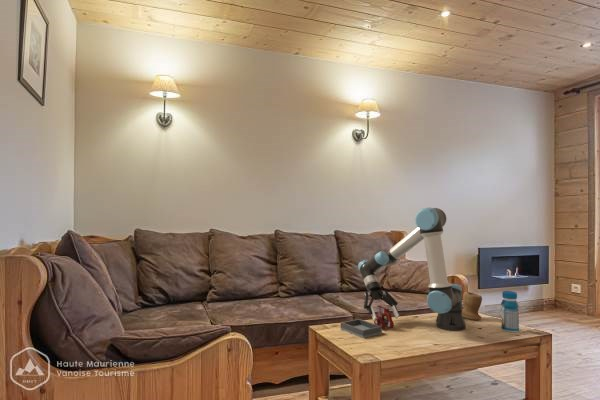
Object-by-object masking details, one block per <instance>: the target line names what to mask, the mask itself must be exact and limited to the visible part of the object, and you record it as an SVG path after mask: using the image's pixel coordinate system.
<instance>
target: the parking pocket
mask: <svg viewBox="0 0 600 400" xmlns="http://www.w3.org/2000/svg"><path fill="white" fill-rule="evenodd" d="M340 330H341V331H345V332H347V333H350V334H352V335H354V336H356V337H359V338H362V339H365V338H369V337H373V336H378V335H381V334H382V333H383V329H382V327H381V326H378V325H376V324H374V322H373V323H372V322H369V321H367V320H363V319H361V318H357V319H351V320H348V321H347V320H345V321H341V322H340Z"/></svg>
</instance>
